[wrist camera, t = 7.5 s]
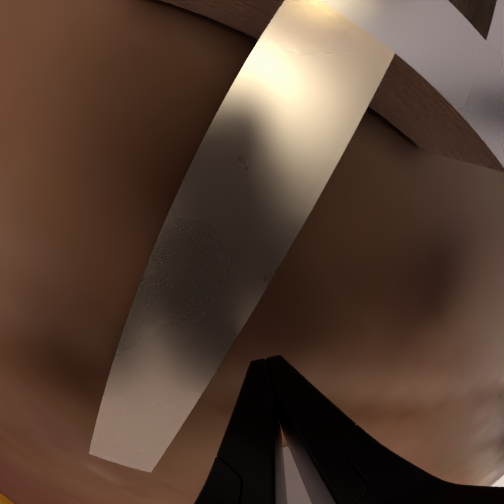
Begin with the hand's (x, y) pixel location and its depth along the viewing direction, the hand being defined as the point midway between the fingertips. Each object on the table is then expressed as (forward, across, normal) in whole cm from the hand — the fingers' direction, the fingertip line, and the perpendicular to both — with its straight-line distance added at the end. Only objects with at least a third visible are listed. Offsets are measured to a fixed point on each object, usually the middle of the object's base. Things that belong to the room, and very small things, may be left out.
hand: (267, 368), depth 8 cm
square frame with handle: (+2, -2, -7) cm, 8 cm away
